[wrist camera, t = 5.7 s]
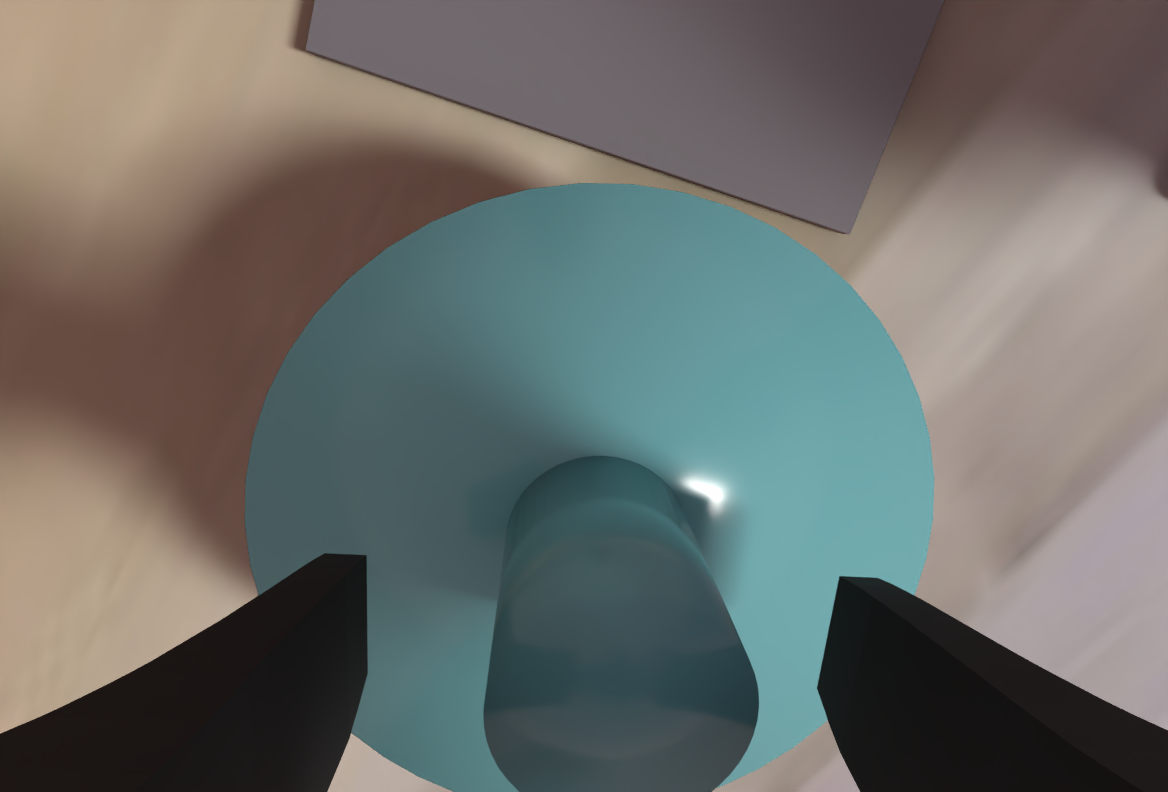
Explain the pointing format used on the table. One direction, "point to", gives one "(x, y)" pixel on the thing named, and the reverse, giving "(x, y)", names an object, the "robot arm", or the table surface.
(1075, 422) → the table surface
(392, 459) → the lid
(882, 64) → the mat
